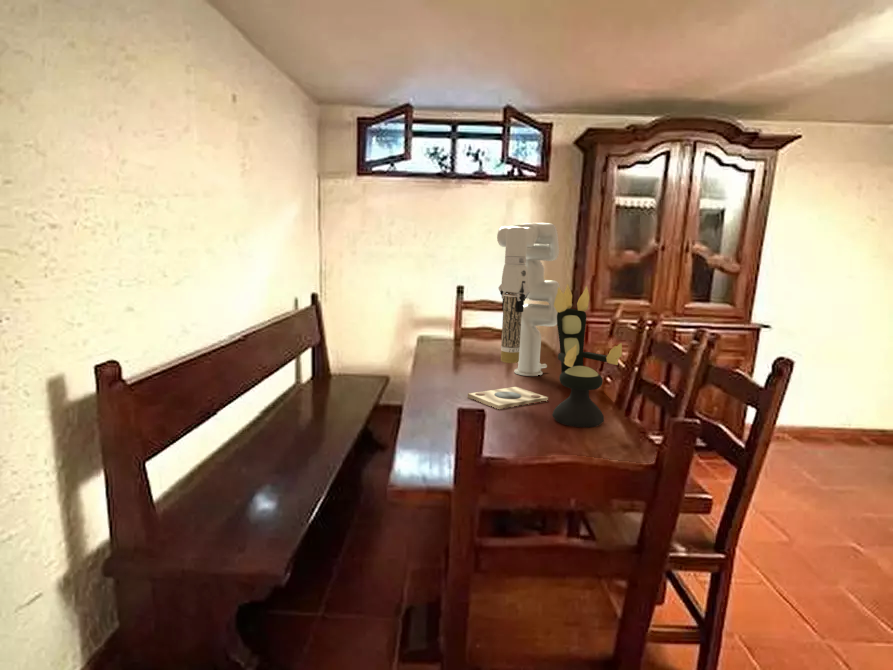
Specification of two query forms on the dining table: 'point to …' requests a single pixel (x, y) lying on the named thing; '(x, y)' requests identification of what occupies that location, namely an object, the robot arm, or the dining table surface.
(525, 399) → the board
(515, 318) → the paper tube
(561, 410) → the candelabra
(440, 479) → the dining table surface
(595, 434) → the dining table surface
